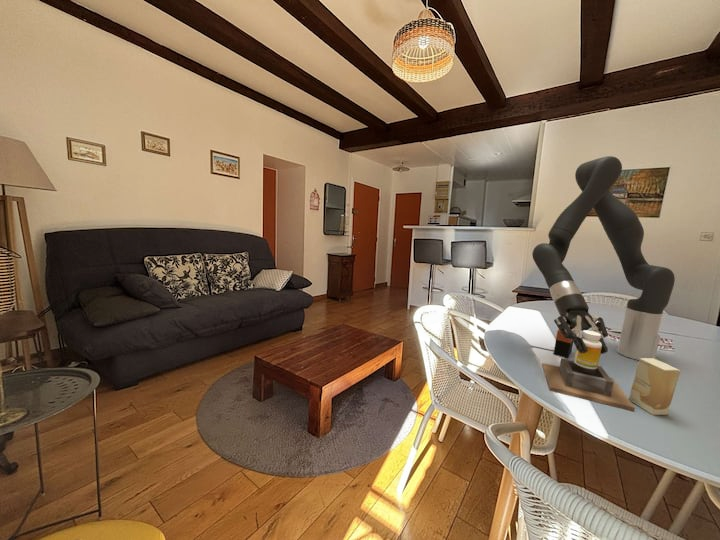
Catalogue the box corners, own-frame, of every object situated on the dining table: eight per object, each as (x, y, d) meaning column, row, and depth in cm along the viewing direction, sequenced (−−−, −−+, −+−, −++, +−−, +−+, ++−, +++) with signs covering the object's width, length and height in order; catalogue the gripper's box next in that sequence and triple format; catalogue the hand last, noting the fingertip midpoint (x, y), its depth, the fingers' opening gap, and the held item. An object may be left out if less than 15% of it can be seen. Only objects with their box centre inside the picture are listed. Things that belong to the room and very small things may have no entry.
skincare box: (627, 400, 77) (637, 357, 75) (642, 399, 77) (652, 357, 75) (653, 416, 71) (665, 369, 69) (669, 415, 71) (681, 369, 69)
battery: (571, 353, 105) (576, 327, 103) (567, 358, 100) (572, 331, 99) (557, 349, 108) (561, 323, 106) (553, 354, 103) (557, 327, 102)
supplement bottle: (601, 371, 79) (609, 337, 77) (579, 368, 80) (586, 335, 78) (590, 362, 84) (597, 330, 83) (569, 359, 85) (575, 328, 84)
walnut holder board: (612, 381, 86) (615, 365, 86) (634, 411, 72) (638, 393, 71) (541, 365, 94) (544, 351, 93) (549, 390, 80) (552, 373, 79)
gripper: (553, 291, 86) (579, 347, 76) (598, 293, 87) (629, 348, 77) (538, 303, 92) (560, 356, 82) (580, 305, 93) (607, 357, 83)
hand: (594, 352), depth 80 cm, fingers closed on supplement bottle, 5 cm apart
